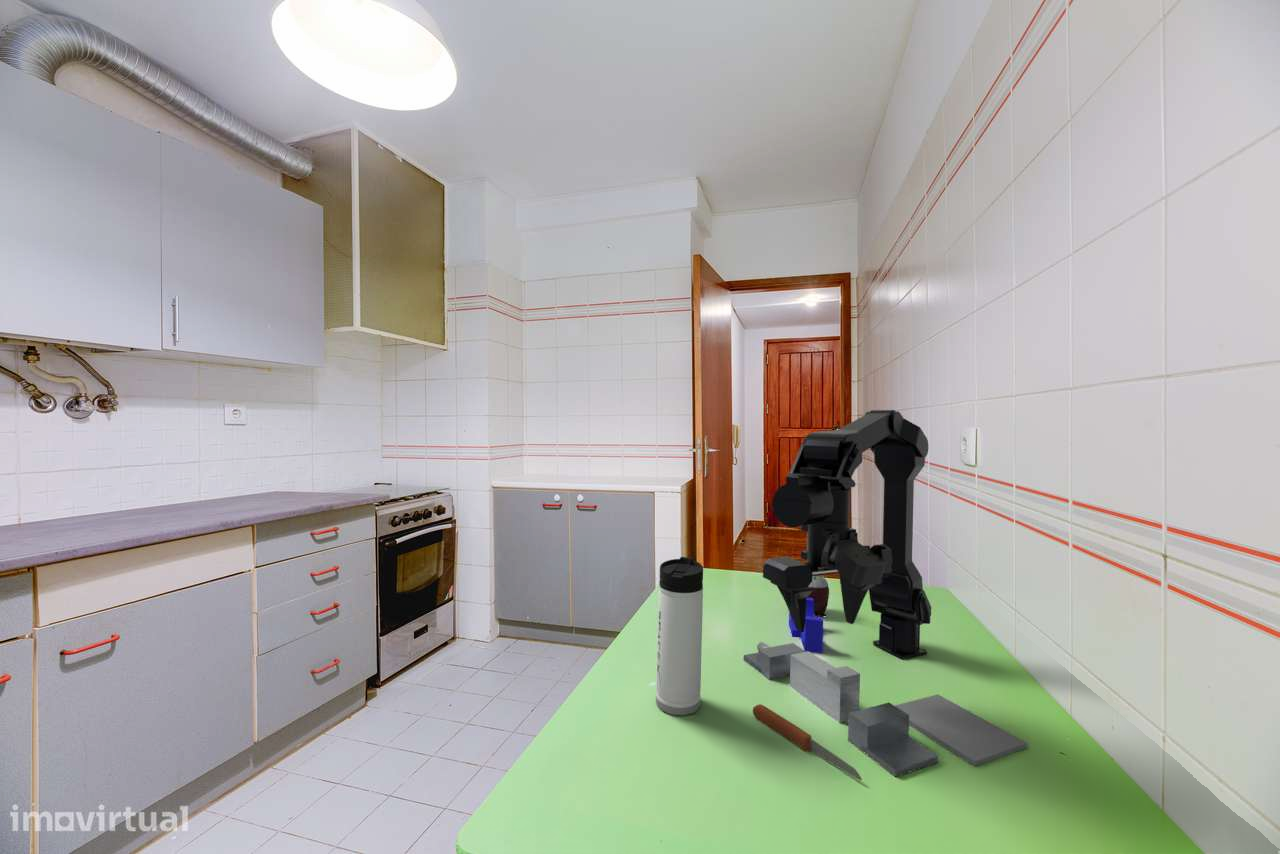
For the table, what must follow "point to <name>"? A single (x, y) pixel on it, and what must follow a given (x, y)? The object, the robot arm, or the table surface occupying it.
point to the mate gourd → (819, 594)
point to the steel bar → (825, 685)
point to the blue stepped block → (809, 630)
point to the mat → (960, 730)
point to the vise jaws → (859, 719)
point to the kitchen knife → (799, 737)
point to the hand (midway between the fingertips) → (825, 627)
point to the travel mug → (679, 636)
